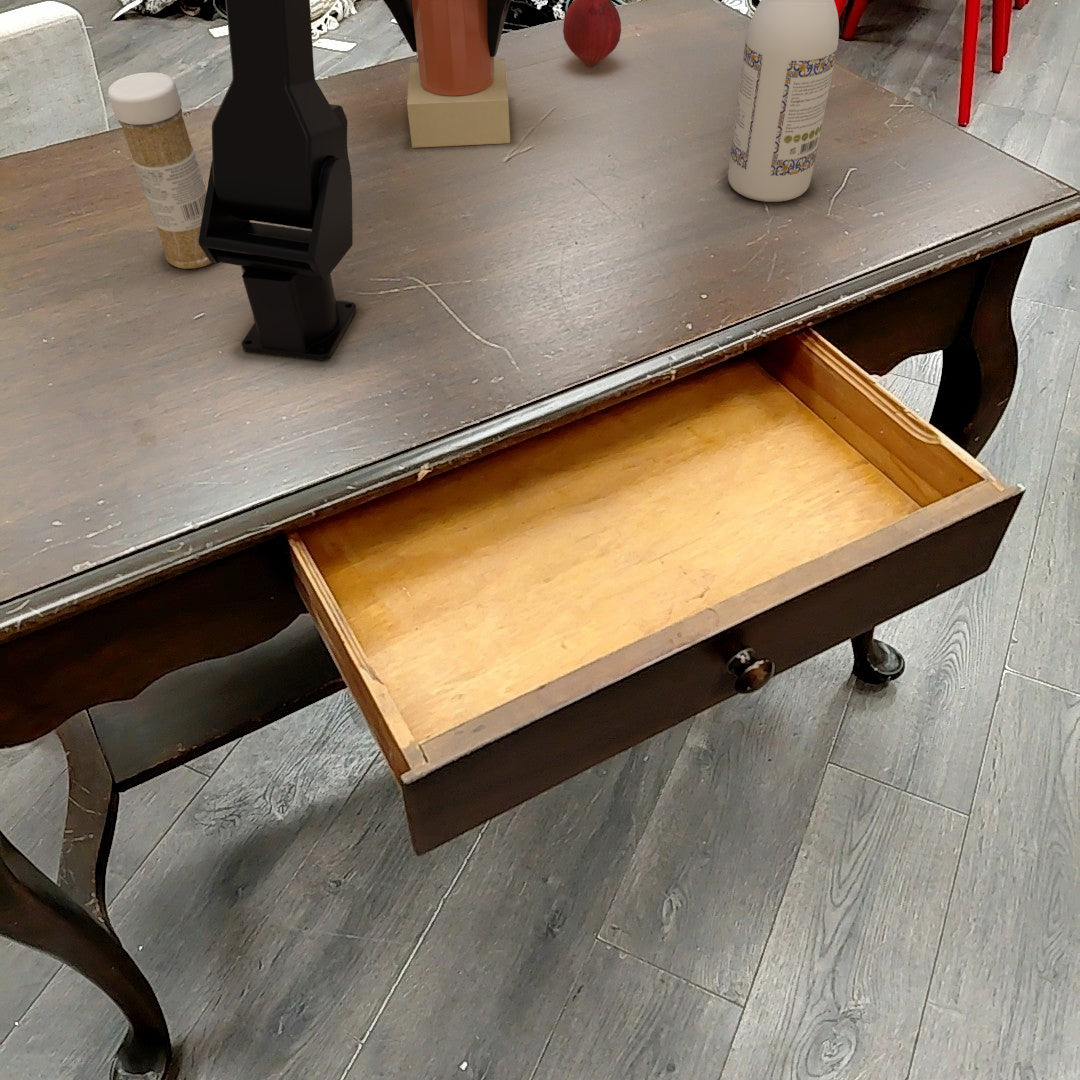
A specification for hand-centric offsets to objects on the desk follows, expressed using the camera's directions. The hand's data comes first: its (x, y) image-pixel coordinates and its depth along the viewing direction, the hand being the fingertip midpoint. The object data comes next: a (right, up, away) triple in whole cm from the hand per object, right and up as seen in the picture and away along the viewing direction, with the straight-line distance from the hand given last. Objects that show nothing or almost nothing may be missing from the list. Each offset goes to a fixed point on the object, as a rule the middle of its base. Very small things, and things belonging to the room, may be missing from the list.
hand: (455, 52), depth 87 cm
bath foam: (+27, -13, -4) cm, 31 cm away
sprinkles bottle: (-20, -21, -10) cm, 31 cm away
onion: (+13, +5, +13) cm, 19 cm away
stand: (0, -4, +5) cm, 6 cm away
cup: (0, -2, +2) cm, 2 cm away
